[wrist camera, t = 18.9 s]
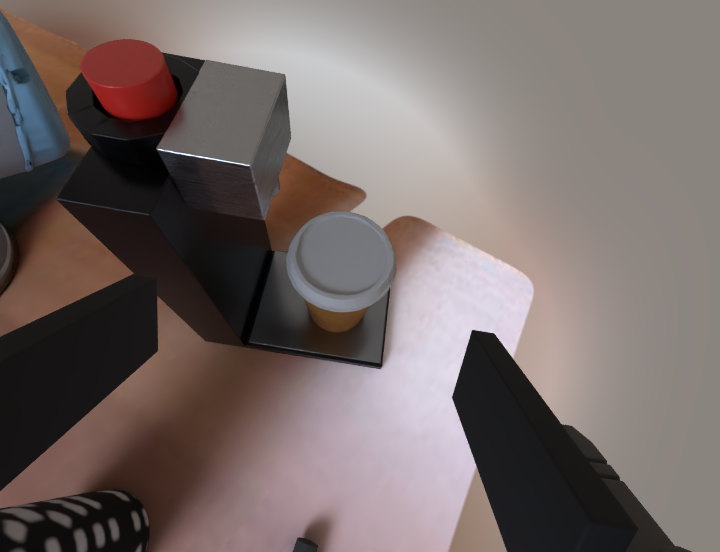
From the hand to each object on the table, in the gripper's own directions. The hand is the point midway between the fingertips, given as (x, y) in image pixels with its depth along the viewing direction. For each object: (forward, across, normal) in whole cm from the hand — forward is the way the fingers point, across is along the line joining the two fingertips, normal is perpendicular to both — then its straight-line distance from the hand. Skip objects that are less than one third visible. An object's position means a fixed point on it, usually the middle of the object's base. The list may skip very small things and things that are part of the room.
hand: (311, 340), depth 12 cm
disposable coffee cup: (+26, 0, -10) cm, 28 cm away
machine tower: (+27, -11, -11) cm, 32 cm away
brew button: (+9, -11, +7) cm, 16 cm away
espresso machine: (+27, -2, -11) cm, 30 cm away
